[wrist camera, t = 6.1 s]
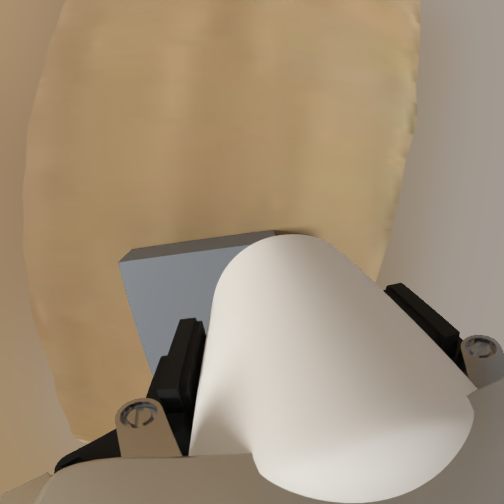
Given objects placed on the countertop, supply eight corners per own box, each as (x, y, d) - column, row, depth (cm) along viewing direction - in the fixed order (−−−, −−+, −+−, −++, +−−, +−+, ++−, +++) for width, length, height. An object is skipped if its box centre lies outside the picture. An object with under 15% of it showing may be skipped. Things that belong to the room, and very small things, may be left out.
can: (371, 242, 13) (601, 425, 2) (337, 366, 15) (427, 583, 4) (222, 220, 13) (148, 548, 1) (207, 356, 15) (179, 616, 3)
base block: (131, 249, 30) (118, 262, 27) (272, 230, 30) (277, 241, 27) (163, 364, 34) (156, 386, 31) (285, 352, 35) (290, 374, 31)
